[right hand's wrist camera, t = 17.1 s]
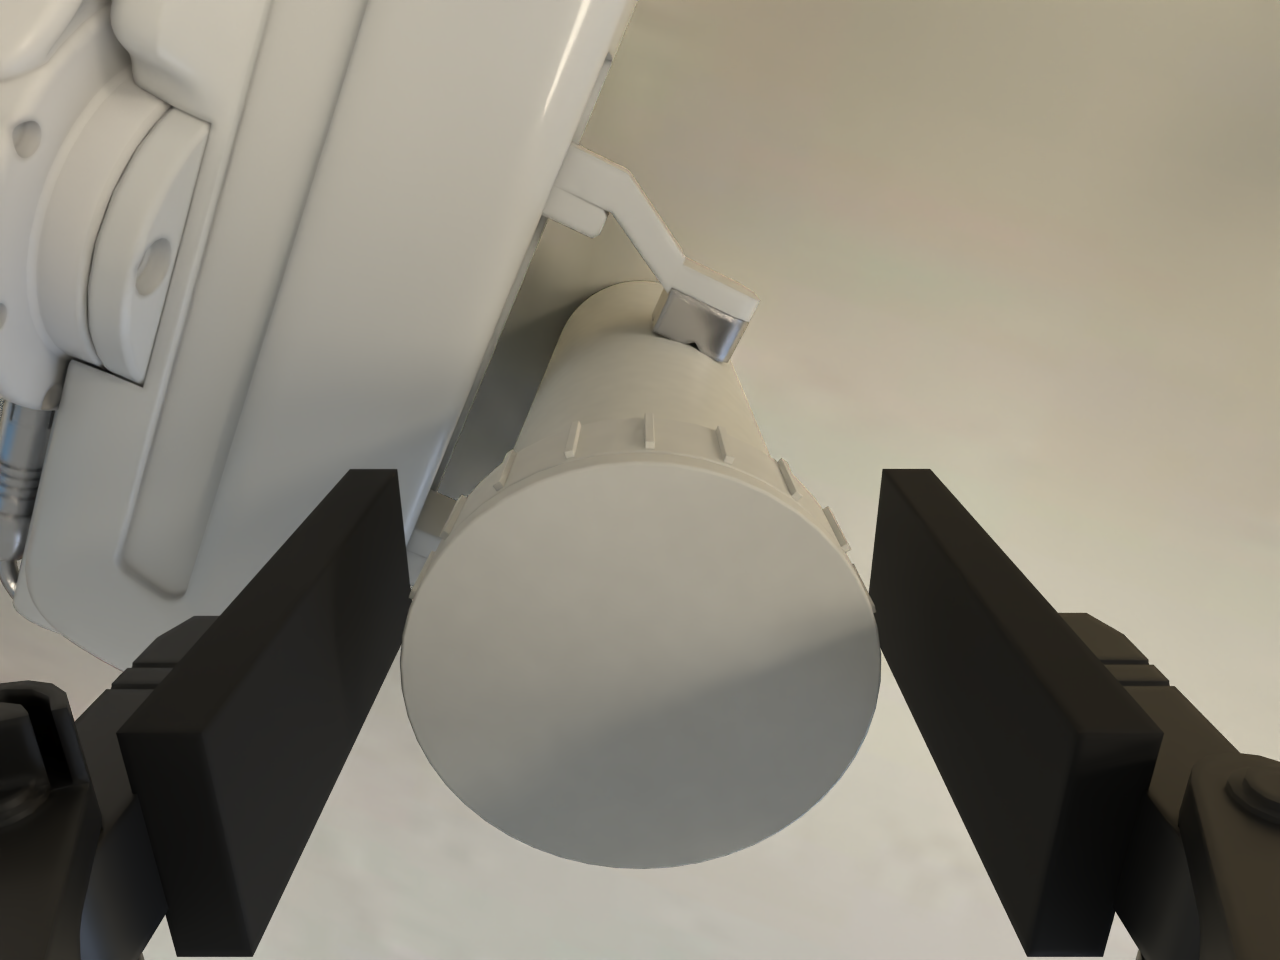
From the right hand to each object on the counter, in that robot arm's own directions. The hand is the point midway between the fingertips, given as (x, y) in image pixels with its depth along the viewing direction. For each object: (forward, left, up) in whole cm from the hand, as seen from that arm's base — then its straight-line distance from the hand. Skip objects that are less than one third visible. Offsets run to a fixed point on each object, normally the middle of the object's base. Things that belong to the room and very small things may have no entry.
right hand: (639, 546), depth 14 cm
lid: (0, 0, +4) cm, 4 cm away
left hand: (-1, +1, -5) cm, 6 cm away
